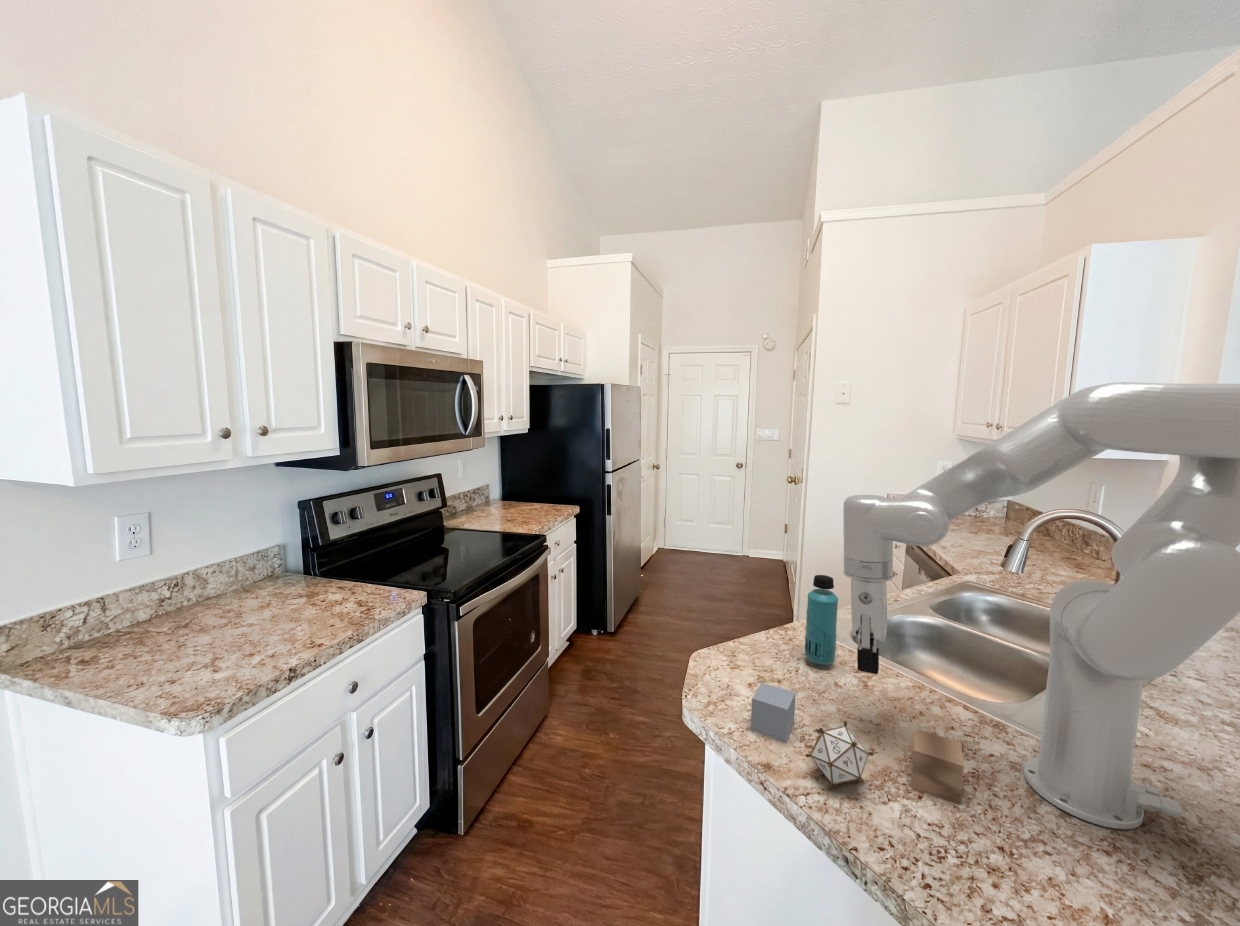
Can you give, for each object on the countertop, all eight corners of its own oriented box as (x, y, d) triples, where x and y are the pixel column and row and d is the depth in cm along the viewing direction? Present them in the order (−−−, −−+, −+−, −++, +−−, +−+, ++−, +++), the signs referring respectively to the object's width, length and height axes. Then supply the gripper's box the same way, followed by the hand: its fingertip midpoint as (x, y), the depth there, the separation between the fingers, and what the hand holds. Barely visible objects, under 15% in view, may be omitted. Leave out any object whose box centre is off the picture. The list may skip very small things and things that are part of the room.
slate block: (793, 724, 86) (795, 692, 85) (786, 743, 81) (787, 709, 80) (760, 713, 89) (761, 682, 89) (750, 730, 84) (751, 698, 83)
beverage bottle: (837, 662, 108) (842, 575, 106) (832, 675, 103) (837, 583, 101) (806, 654, 112) (811, 569, 110) (800, 666, 106) (805, 577, 104)
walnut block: (957, 779, 73) (960, 742, 73) (960, 805, 68) (963, 766, 68) (911, 763, 77) (914, 728, 76) (911, 788, 72) (913, 750, 71)
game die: (849, 810, 72) (887, 790, 65) (794, 782, 73) (826, 760, 67) (849, 749, 79) (883, 726, 72) (798, 725, 80) (828, 700, 73)
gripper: (891, 582, 75) (891, 696, 76) (894, 558, 87) (894, 657, 89) (838, 576, 79) (839, 685, 80) (848, 554, 91) (849, 649, 93)
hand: (868, 670), depth 84 cm, fingers closed
